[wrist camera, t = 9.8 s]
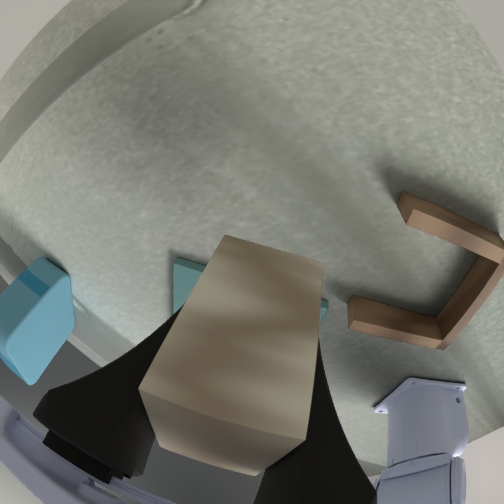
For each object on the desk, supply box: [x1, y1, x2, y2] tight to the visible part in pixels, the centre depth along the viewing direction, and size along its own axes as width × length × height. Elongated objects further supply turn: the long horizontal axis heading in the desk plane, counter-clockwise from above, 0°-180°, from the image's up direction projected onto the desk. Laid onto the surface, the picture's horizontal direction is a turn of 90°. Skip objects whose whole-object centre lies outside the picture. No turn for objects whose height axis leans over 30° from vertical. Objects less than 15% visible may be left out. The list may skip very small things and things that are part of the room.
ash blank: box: [138, 235, 323, 476], centre depth 10 cm, size 4×6×7 cm, turn 170°
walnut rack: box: [348, 192, 504, 350], centre depth 17 cm, size 9×10×2 cm
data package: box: [0, 257, 75, 385], centre depth 26 cm, size 12×4×12 cm, turn 157°
